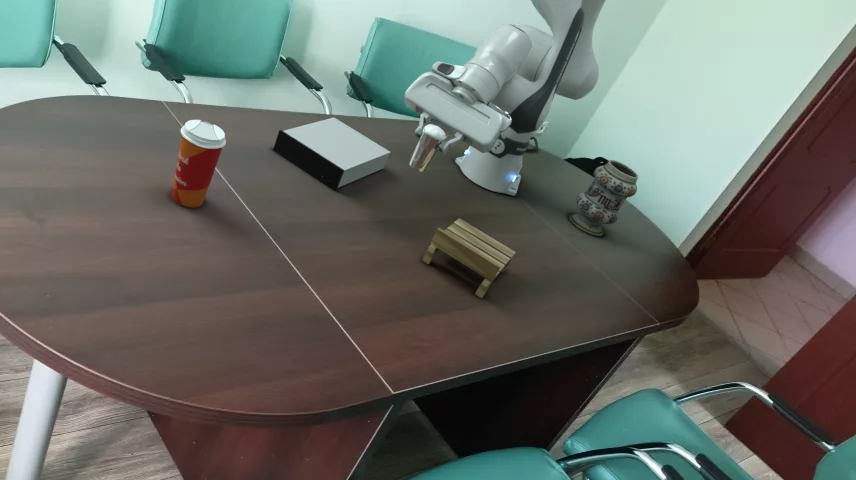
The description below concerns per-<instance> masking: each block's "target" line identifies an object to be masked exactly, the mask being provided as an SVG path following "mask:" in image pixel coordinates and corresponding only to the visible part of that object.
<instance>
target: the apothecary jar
mask: <svg viewBox="0 0 856 480" xmlns="http://www.w3.org/2000/svg"><path fill="white" fill-rule="evenodd" d="M593 178H594V179H593V180H592V182H591V184H589V187H588V188H587V189H586V191H582V192H580V193H578V194H577V196H576V197H575V204H576V207H577V209H578V210H579V212H580V213H571V214H569V220H570V221H571V223H572V224H573V225H574V226H576V228H578V229H579V230H581V231H583V232H584V233H587V234H588V235H591V236H592V235H593V236H598V237H599V236H603V235H604V230H603V228H602V226H601V225H613V224H615V223H617V221H618V220H619V218H620V209H621V207H622V205H623V204H624V203H625V201H626V200H627V199H628V198H632V197H633V196H635V195H636V194H637V191H638V185H637V182H638V179H639V174H638V173H637V172H636V171H635V170H633V169H632V168H631V167H629V166H628V165H626V164H624V163H622V162H620V161H617V160H614V159H609V160H608V161H607V162H606V163H605V164H604V165H599V166H597V167H596V168H595V169H594V171H593ZM600 224H601V225H600Z"/></svg>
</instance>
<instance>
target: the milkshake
mask: <svg viewBox="0 0 856 480" xmlns="http://www.w3.org/2000/svg"><path fill="white" fill-rule="evenodd" d="M453 132H454V131H453ZM453 132H451V133H453ZM451 133H449V134H446V132H445V130H444V129H442V128H441V127H439V126H437V125H436V124H434V123H430V124H429V123H428V124H425V125H424V129H423V132H422V134H421V137H420V138H419V140H418V141H417V145H416V147H415V150H414V151H413V154H412V156H411V159H410V161H409V163H408V164H409V167H410V168H411V169H412V170H414V171H416V172H419V173H424V172H425V170H426V169H427V167H428V166H429V164H430V163H431V161H432V160H433V158H434V157H435V155H436V154H437V152H438V151H439V150H438V146H439V145H440V144H441V142H443V141H444V140H445V141H446V139H447V138H448V137H449V136H450V135H452V134H451Z"/></svg>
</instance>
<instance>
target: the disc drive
mask: <svg viewBox="0 0 856 480" xmlns="http://www.w3.org/2000/svg"><path fill="white" fill-rule="evenodd" d="M272 151H273V152H275V153H277V154H279V155H280V156H281V157H283V158H284V159H286V160H287V161H289V162H291V163H292V164H294V165H295V166H297V167H299V169H301V170H303V171H305V172H306V173H307V174H309V175H311V176H312V177H314V178H315V179H317V180H319V181H320V182H321V183H323V184H325V185H326V186H328V187H329V188H331V189H332V190H334V191H337V190H338V189H339V188H341V187H344V186H346V185H348V184H351V183H352V182H355V181H357V180H360V179H362V178H365V177H367V176H369V175H371V174H373V173H376V172H378V171H381V170H383V169H385V166H386V164H387V162H388V159H389V157H390V155H391V151H389V150H388V149H386V148H385V147H383V146H382V145H380V144H378V143H376V142H375V141H373V140H372V139H370V138H368V137H367V136H365V135H363V134H362V133H360V132H359V131H357V130H356V129H353V128H352V127H350V126H349V125H347V124H345V123H344V122H342V121H340V120H339V119H338V118H336V117H329V118H327V119H323V120H319V121H315V122H311V123H308V124H304V125H300V126H297V127H292V128H289V129H284V130H283V129H280V130H278V133H277V136H276V140H275V143H274V146H273V149H272Z"/></svg>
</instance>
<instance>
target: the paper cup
mask: <svg viewBox="0 0 856 480" xmlns="http://www.w3.org/2000/svg"><path fill="white" fill-rule="evenodd" d="M224 131H225V130H223V129H222V128H221V127H220V126H218V125H217V124H212V123H210V122H208V121H202V120H201V119H190V120H188V121H186V122H185V123H184V125H183V126H182V127H181V128H180V134H181V137H180V144H179V150H178V155H177V160H176V167H175V171H174V172H175V173H174V176H173V177H174V178H173V184H172V190H171V197H172V200H173V201H174V202H176V203H177V204H179V205H180V206H183V207H187V208H199V207H200V206H202V205H203V203H204V201H205V198H206V196H207V193H208V190H209V187H210V186H211V185H210V184H211V182H212V178H213V176H214V173H215V170H216V167H217V164H218V161H219V159H220V156H221V153H222V150H223V147H225V146H226V144H227V139H226V134H225V132H224Z"/></svg>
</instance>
